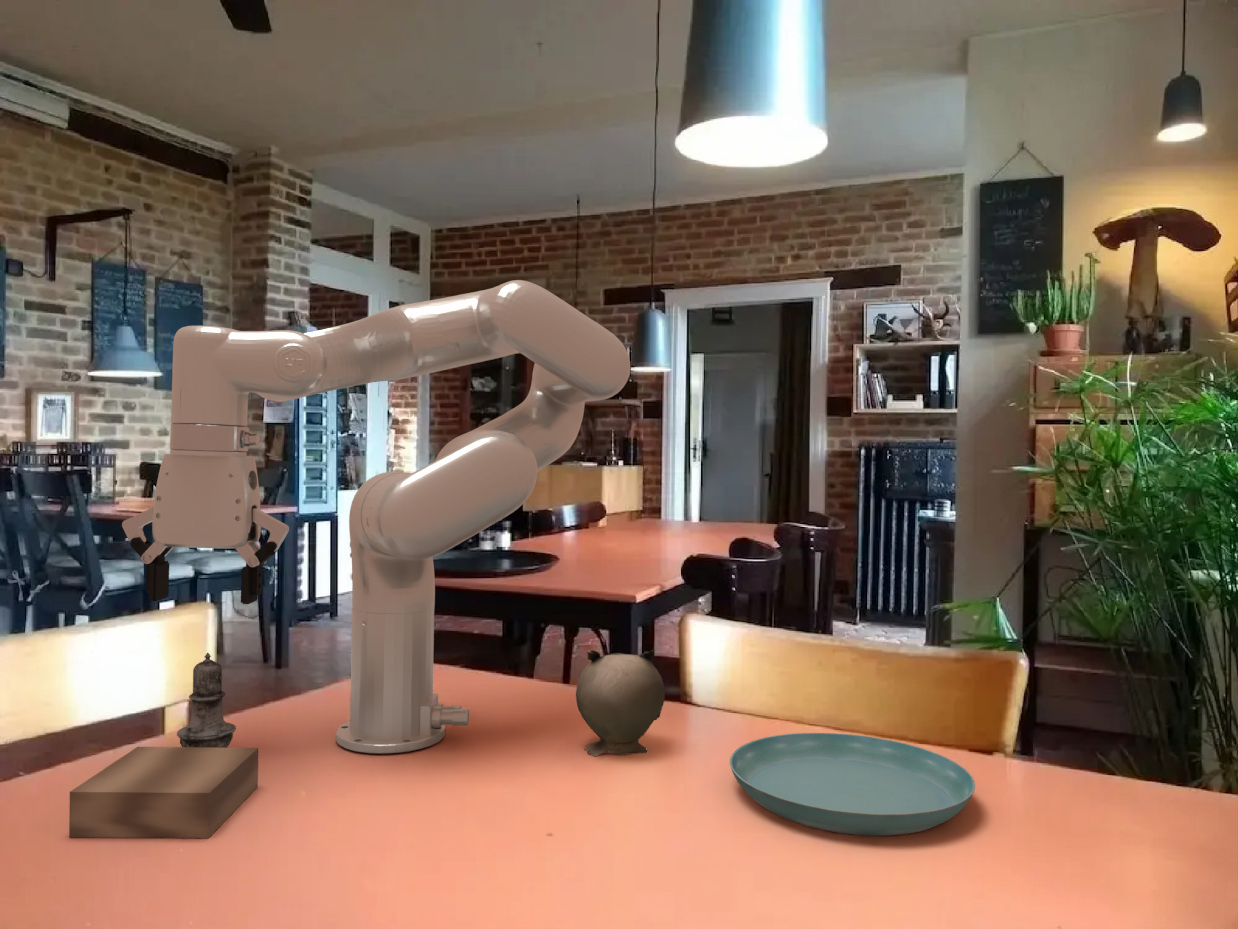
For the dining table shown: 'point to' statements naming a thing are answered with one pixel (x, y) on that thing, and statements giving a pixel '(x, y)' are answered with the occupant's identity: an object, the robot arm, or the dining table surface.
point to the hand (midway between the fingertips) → (204, 600)
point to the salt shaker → (207, 709)
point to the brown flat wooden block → (164, 793)
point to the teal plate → (852, 782)
